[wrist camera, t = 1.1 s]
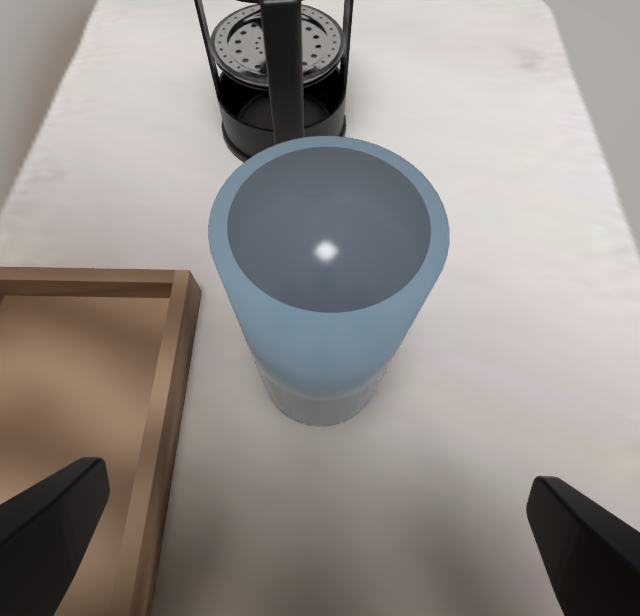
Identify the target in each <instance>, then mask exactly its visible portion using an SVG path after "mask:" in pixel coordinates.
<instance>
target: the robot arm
mask: <svg viewBox="0 0 640 616" xmlns="http://www.w3.org/2000/svg"><path fill="white" fill-rule="evenodd" d="M109 495H110V484H109V478H108V473H107V467H106V462H105V460H104V459H103V458H101V457H82V458H80V459H78V460H76V461H74V462H73V463H71V464H69V465H67V466H66V467H64V468H62V469H61V470H59V471H57V472H55V473H54V474H52V475H50V476H48V477H47V478H45V479H43V480H42V481H40V482H38V483H36V484H35V485H33V486H31V487H29V488H28V489H26V490H24V491H22V492H21V493H19V494H17V495H16V496H14V497H12V498H10V499H9V500H7V501H5V502H3V503H2V504H0V616H54V614H55V612H56V611H57V609H58V607H59V605H60V603H61V601H62V600H63V598H64V596H65V594H66V592H67V590H68V589H69V587H70V585H71V583H72V581H73V579H74V577H75V575H76V573H77V571H78V568H79V566H80V564H81V562H82V560H83V557H84V555H85V553H86V550H87V548H88V546H89V543H90V541H91V539H92V537H93V534H94V532H95V530H96V527H97V525H98V523H99V520H100V518H101V516H102V513H103V511H104V509H105V507H106V504H107V502H108V499H109ZM526 512H527V518H528V521H529V524H530V526H531V529H532V532H533V535H534V538H535V540H536V543H537V546H538V549H539V552H540V554H541V557H542V560H543V563H544V565H545V568H546V571H547V574H548V577H549V579H550V582H551V585H552V587H553V590H554V593H555V595H556V598H557V600H558V602H559V604H560V607H561V609H562V611H563V613H564V616H640V532H639V531H637V530H636V529H634V528H633V527H631V526H630V525H628V524H627V523H625V522H624V521H622V520H621V519H619V518H618V517H616V516H615V515H613V514H612V513H610V512H609V511H607V510H606V509H604V508H603V507H601V506H600V505H598V504H597V503H595V502H594V501H592V500H591V499H589V498H588V497H587V496H585V495H584V494H582V493H581V492H579V491H578V490H576V489H575V488H573V487H572V486H570V485H569V484H567V483H566V482H564V481H563V480H561V479H560V478H558V477H554V476H537V477H536V478H535V479H534V481H533V484H532V487H531V491H530V495H529V498H528V502H527V507H526Z"/></svg>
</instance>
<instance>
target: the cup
mask: <svg viewBox="0 0 640 616" xmlns="http://www.w3.org/2000/svg"><path fill="white" fill-rule="evenodd" d="M208 239H209V245H210V251H211V254H212V257H213V260H214V263H215V266H216V268H217V271H218V273H219V276H220V278H221V280H222V283H223V285H224V288H225V290H226V293H227V295H228V298H229V300H230V302H231V305H232V307H233V310H234V312H235V315H236V317H237V319H238V322H239V324H240V327H241V329H242V332H243V334H244V337H245V339H246V341H247V344H248V346H249V349H250V351H251V354H252V356H253V358H254V361H255V363H256V366H257V368H258V371H259V373H260V376H261V378H262V380H263V383H264V385H265V388H266V390H267V392H268V394H269V396H270V398H271V400H272V401H273V403H274V404H275V405H276V406H277V408H278V409H279V410H280V411H281V412H283V413H284V414H285V415H286V416H288V417H290V418H291V419H293V420H295V421H297V422H300V423H303V424H306V425H311V426H330V425H335V424H338V423H341V422H343V421H346V420H348V419H349V418H351V417H353V416H354V415H356V414H357V413H358V412H359V411H360V410H361V409H362V408H363V407H364V406H365V405H366V403H367V402H368V401H369V399H370V397H371V396H372V394H373V392H374V390H375V389H376V387H377V385H378V383H379V381H380V380H381V378H382V376H383V374H384V373H385V371H386V369H387V367H388V366H389V364H390V362H391V360H392V358H393V357H394V355H395V353H396V351H397V350H398V348H399V346H400V344H401V343H402V341H403V339H404V337H405V336H406V334H407V332H408V330H409V328H410V327H411V325H412V323H413V321H414V320H415V318H416V316H417V314H418V313H419V311H420V309H421V307H422V305H423V304H424V302H425V300H426V298H427V297H428V295H429V293H430V291H431V290H432V288H433V286H434V284H435V282H436V281H437V279H438V277H439V275H440V273H441V271H442V269H443V267H444V264H445V261H446V258H447V254H448V248H449V225H448V219H447V215H446V212H445V209H444V206H443V203H442V201H441V199H440V197H439V195H438V193H437V192H436V190H435V189H434V187H433V186H432V185H431V183H430V182H429V181H428V180H427V179H426V177H425V176H424V175H423V174H422V173H421V172H420V171H419V170H418V169H417V168H415V167H414V166H413V165H412V164H411V163H409V162H408V161H406V160H405V159H403V158H402V157H401V156H399V155H397V154H395V153H393V152H392V151H390V150H388V149H385V148H383V147H381V146H378V145H376V144H372V143H369V142H366V141H363V140H358V139H353V138H347V137H338V136H314V137H305V138H299V139H294V140H290V141H287V142H283V143H280V144H277V145H275V146H272V147H269V148H267V149H265V150H263V151H262V152H260V153H258V154H256V155H254V156H253V157H251V158H250V159H248V160H247V161H246V162H244V163H243V164H242V165H241V166H240V167H238V168H237V169H236V170H235V171H234V172H233V173H232V174H231V176H230V177H229V178H228V179H227V180H226V182H225V183H224V185H223V186H222V187H221V189H220V191H219V193H218V195H217V196H216V198H215V200H214V203H213V206H212V209H211V213H210V218H209V225H208Z"/></svg>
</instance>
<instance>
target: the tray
mask: <svg viewBox="0 0 640 616" xmlns="http://www.w3.org/2000/svg"><path fill="white" fill-rule="evenodd" d="M200 297H201V290H200V288H199V286H198V284H197V282H196V281H195V279H194V277H193V275H192V273H191V271H190V270H149V269H95V268H40V267H0V504H2V503H3V502H5V501H7V500H9V499H10V498H12V497H14V496H16V495H17V494H19V493H21V492H22V491H24V490H26V489H28V488H29V487H31V486H33V485H35V484H36V483H38V482H40V481H42V480H43V479H45V478H47V477H48V476H50V475H52V474H54V473H55V472H57V471H59V470H61V469H62V468H64V467H66V466H67V465H69V464H71V463H73V462H74V461H76V460H78V459H80V458H82V457H101V458H103V459H104V460H105V462H106V467H107V473H108V478H109V484H110V495H109V499H108V502H107V504H106V507H105V509H104V511H103V513H102V516H101V518H100V520H99V523H98V525H97V527H96V530H95V532H94V534H93V537H92V539H91V541H90V543H89V546H88V548H87V550H86V553H85V555H84V557H83V560H82V562H81V564H80V566H79V568H78V571H77V573H76V575H75V577H74V579H73V581H72V583H71V585H70V587H69V589H68V590H67V592H66V594H65V596H64V598H63V600H62V601H61V603H60V605H59V607H58V609H57V611H56V612H55V614H54V616H150V612H151V606H152V599H153V593H154V587H155V580H156V574H157V568H158V562H159V555H160V549H161V543H162V536H163V530H164V524H165V517H166V511H167V505H168V499H169V492H170V486H171V480H172V473H173V467H174V461H175V455H176V448H177V442H178V436H179V429H180V423H181V417H182V410H183V404H184V398H185V392H186V385H187V379H188V373H189V366H190V360H191V354H192V347H193V341H194V335H195V329H196V322H197V316H198V310H199V303H200Z"/></svg>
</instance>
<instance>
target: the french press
mask: <svg viewBox="0 0 640 616" xmlns="http://www.w3.org/2000/svg"><path fill="white" fill-rule="evenodd" d="M194 1H195V6H196V10H197V14H198V18H199V22H200V27H201V31H202V35H203V39H204V44H205V48H206V52H207V56H208V60H209V65H210V69H211V73H212V77H213V82H214V86H215V90H216V94H217V98H218V103H219V107H220V111H221V115H222V132H223V137H224V140H225V142H226V144H227V146H228V148H229V149H230V150H231V151H232V152H233V154H234V155H235V156H237V157H238V158H239V159H240V160H242V161H243V162H246V161H247V160H248V159H250V158H251V157H253V156H254V155H256V154H258V153H260V152H262V151H263V150H265V149H267V148H269V147H272V146H275V145H277V144H280V143H283V142H287V141H290V140H294V139H299V138H305V137H314V136H338V137H344V136H345V131H346V118H345V115H344V110H345V98H346V86H347V73H348V61H349V49H350V37H351V24H352V12H353V0H345V1H344V17H343V31H342V28H341V27H340V26H339V24H338V23H337V22H336V21H335V20H334V19H333V18H331V17H330V16H329V15H327V14H326V13H324V12H322V11H320V10H318V9H315V8H313V7H310V6H307V5H302V4H301V1H303V0H237V1H241V2H248V3H257V4H255V5H251V6H247V7H245V8H242V9H239V10H237V11H235V12H233V13H232V14H230V15H228V16H227V17H225V18H224V19H223V20H222V21H220V23H219V24H218V25H217V26H216V27H215V29H214V31H213V33H212V35H211V39H210V36H209V31H208V27H207V22H206V18H205V13H204V9H203V4H202V0H194ZM340 60H341V64H340V70H339V69H338V67H337V65H338V64H339V62H340ZM215 61H216V63H217V65H218V66H219V68H220V69H221V70H222V71H223V72H222V73H221V75H220V77H219V76H218V72H217V67H216V63H215ZM268 95H269V96H270V105H271V114H272V124H273V130H270V129H263V128H259V127H255V126H252V125H249V124H247V123H245V122H242V121H240V117H241V115H242V113H243V112H244V110H245V109H246V108H247V107H248V106H249V105H250V104H251V103H253V102H254V101H256V100H258V99H260V98H262V97H265V96H268ZM303 96H305V97H308V98H310V99H312V100H314V101H315V102H317V103H318V104H319V105H320V106H321V107H322V108H323V109H324V110H325V112H326V113H327V115H328V116H326V117H325V118H324V119H322V120H320V121H318V122H316V123H314V124H312V125H308V126H305V127H304V98H303Z"/></svg>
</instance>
